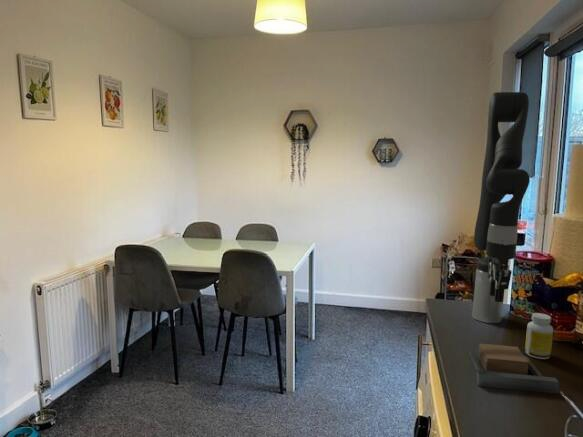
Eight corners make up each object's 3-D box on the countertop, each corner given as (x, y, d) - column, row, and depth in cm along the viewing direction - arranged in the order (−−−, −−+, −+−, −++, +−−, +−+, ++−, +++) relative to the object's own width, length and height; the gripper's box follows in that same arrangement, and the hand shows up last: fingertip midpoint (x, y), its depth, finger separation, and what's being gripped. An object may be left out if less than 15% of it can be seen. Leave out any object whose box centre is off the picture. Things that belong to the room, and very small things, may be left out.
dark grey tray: (463, 355, 124) (464, 345, 123) (532, 362, 121) (533, 351, 120) (478, 385, 108) (479, 374, 107) (557, 393, 105) (558, 382, 105)
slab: (477, 356, 124) (479, 343, 123) (515, 360, 122) (517, 346, 122) (486, 372, 115) (487, 358, 115) (527, 376, 114) (528, 362, 113)
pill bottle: (553, 361, 121) (558, 321, 120) (528, 358, 123) (533, 319, 121) (545, 351, 128) (550, 312, 126) (521, 348, 129) (525, 310, 127)
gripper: (481, 234, 131) (476, 290, 134) (495, 244, 117) (489, 306, 120) (507, 236, 130) (502, 291, 132) (525, 246, 116) (518, 308, 118)
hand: (496, 298), depth 126 cm, fingers open, 4 cm apart
